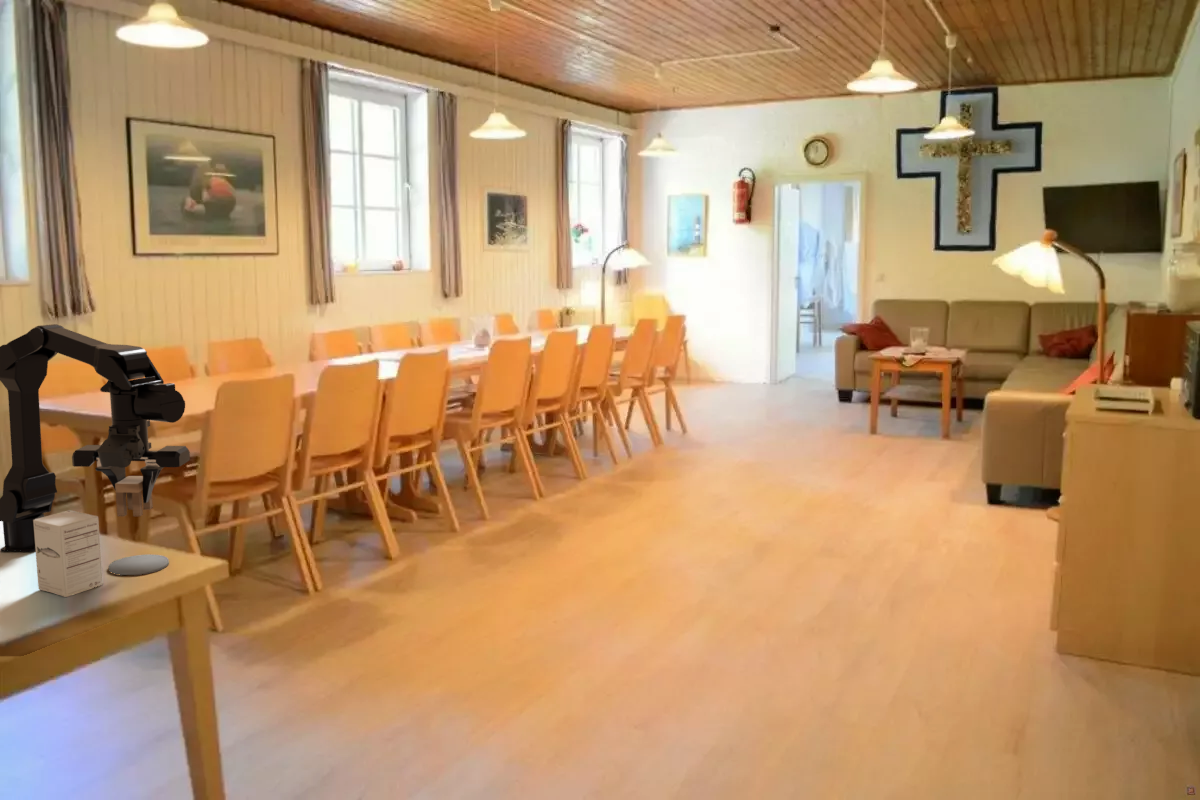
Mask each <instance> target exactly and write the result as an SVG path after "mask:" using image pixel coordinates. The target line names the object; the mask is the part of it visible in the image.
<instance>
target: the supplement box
mask: <svg viewBox="0 0 1200 800" xmlns="http://www.w3.org/2000/svg"><path fill="white" fill-rule="evenodd" d="M33 523H34V535H35V548H36V551H35V558H36V560H35V561H36V573H37V575H36V576H37V587H38V590H39V591H44V592H48V593H51V594H55V595H58V596H61V597H63V598H68V597H71V596H73V595H77V594H80V593H83V592H86V591H89V590H92V589H95V588H98V587H100V585H101V586H103V572H102V571H103V570H102V569H103V568H102V556H101V540H100V539H101V538H100V537H101V536H100V526H99V524H100V523H99V516H98V515H94V514H91V513H90V514H89V513H85V512H81V511H76V510H72V509H70V510H66V511H65V510H64V511H61V512H57V513H54V514H49V515H46V516H45V515H44V517H41V518H38V519H34V520H33ZM97 586H98V587H97ZM94 587H95V588H94Z"/></svg>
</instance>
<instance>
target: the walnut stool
mask: <svg viewBox="0 0 1200 800" xmlns="http://www.w3.org/2000/svg"><path fill="white" fill-rule="evenodd" d="M115 489H116V491H115V500H116V514H117V515H116V516H117V517H126V516H127V515H128V510H132V517H141V516H143V515H144V512H143V511H144V510H148V511H149V510H152V509H154V508H153V506H154V505H153V492H152V493H151V495H150V498H149V501H148V502H147V503H144V500H143V475H128V476H126V478H124V479H122V480H121V481H119V482H117V483H116V484H115ZM115 489H114V490H115Z"/></svg>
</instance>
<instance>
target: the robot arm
mask: <svg viewBox="0 0 1200 800" xmlns="http://www.w3.org/2000/svg"><path fill="white" fill-rule="evenodd" d="M57 354H60V355H62V356H66V357H68V358H71V359H73V360H76V361H78V362H81V363H84V364H87V365H88V366H91V367H93V368H94V370H95V373H96V374H97V375H99V376H101V377H102V378H104V379H106V380H107V381H106V383H104V385H102V386H101V387H100V389H99V390H100V391H99V392H101V393H109V400H110V401H109V402H110V415H111V416H110V417H111V425H109V426H108V435H107V438H106V439H105V440H103V442H102V444H86V445H84V446H82V447H80V448H78V449H75V450H74V451H73V453H72V456H71V465H72V466H73V467H80V468H81V467H83V468H85V467H87V468H88V467H91V466H92V465H93V464H94V463H95V462H96V467H94V468H95V471H96V472H101V473H103V474H104V475H105V476H106V477H107V479H108V480H109V482H110V483H111V485H112V487H113V489H114V492H116V489H115V484H116V483H117V482H119V481H121V480H122V479H124V478H126V477H127V476H126V468H127V467H129V466H130V465H131V462H144V463H145V465H144V466H143V467H141V468H140V469H139V470H140V473H141V474H142V475H141V476H143V495H142V501H143V500H144V503H147V502H148V501H149V498H150V495H151V493H152V494H153V490H154V487H155V484H156V481H157V479H158V477H159V475H160V473H161V471H162V470H163V469H164V468H179V467H182V466H183V465H185V464H186V463H188V462H189V461H190V460H191V455H190V454H191V453H190V450H189V448H188V447H187V446H186V445H166V446H164V447H162V448H159V450H150V449H152V442H149V431H148V428H149V427H151V422H161V423H162V422H163V423H171V424H172V423H176V422H179V420H181V418H182V417H183V416H184V413H185V410H186V401H185V399H184V397H183V395H182V394H181V392H179V391H178V390H176V384H175V383H170V382H168V383H165V382H164V379H163V378H162V376H161V374H160V373H159V372H158V370H157V368H156V367H155V364H154V363H153V362H152V360H151V359H150V357H149V355H148V352H147V350H146V349H145V348H143V347H141V346H137V345H130V344H113V343H112V344H111V343H107V342H103V341H101V340H98V339H96V338H93V337H90V336H87V335H84V334H81V333H79V332H76V331H73V330H71V329H67V328H65V327H64V326H62V325H59V324H57V323H52V324H43V325H41V324H40V325H37V326H35V327H32V328H31V329H30V330H29V331H28V332H27V333H25V334H23V335H20V336H19V337H17V338H15V339H12V340H11V341H9V342H7V343H6V344H2V345H1V346H0V383H1V384H2V385H3V386H4V388H5V389H6V390H7V397H8V398H7V399H8V412H9V414H8V415H9V431H10V432H9V434H10V447H11V450H10V451H11V467H10V469H9V470H8V473H7V474H6V476H5V477H4V479H3V486H2V487H3V488H2V496H1V497H0V522H2V529H3V530H2V531H3V538H4V539H3V540H4V546H1V547H0V552H36V548H35V535H34V523H33V520H34V519H38V518H41V517H45V513H51V511H52V506H53V502H54V500H55V496H56V493H58V490H57V486H56V480H57V479H56V478H57V476H56V474H55V473H54V472H50V471H49V470H48V469H47V468H46V466H45V465H44V463H43V455H42V454H43V453H42V433H41V431H42V430H41V412H40V411H41V410H40V394H39V393H40V388H41V386H42V384H43V383H44V381H45V379H46V378H47V375H48V366H49V365H48V364H49V361H50V360H52V359H53V358H54V357H56V355H57Z"/></svg>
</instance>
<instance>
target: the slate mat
mask: <svg viewBox="0 0 1200 800" xmlns="http://www.w3.org/2000/svg"><path fill="white" fill-rule="evenodd" d="M169 561H170V559H169V558H168V557H167V556H165V555H160V554H151V553H150V554H149V553H147V554H138V555H131V556H127V557H126V556H125V557H121V558H120V559H115V560H114V561H112V562H111V563H110V564H108V571H110V572H112V573H115V574H120V575H119V576H122V575H134V576H141V575H142V574H143V575H147V574H152V573H155V572H159V571H161V570H164V569H165V568H167V567H168V566H169ZM110 572H109V573H110ZM112 573H111V574H112ZM115 574H114V575H115Z"/></svg>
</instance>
